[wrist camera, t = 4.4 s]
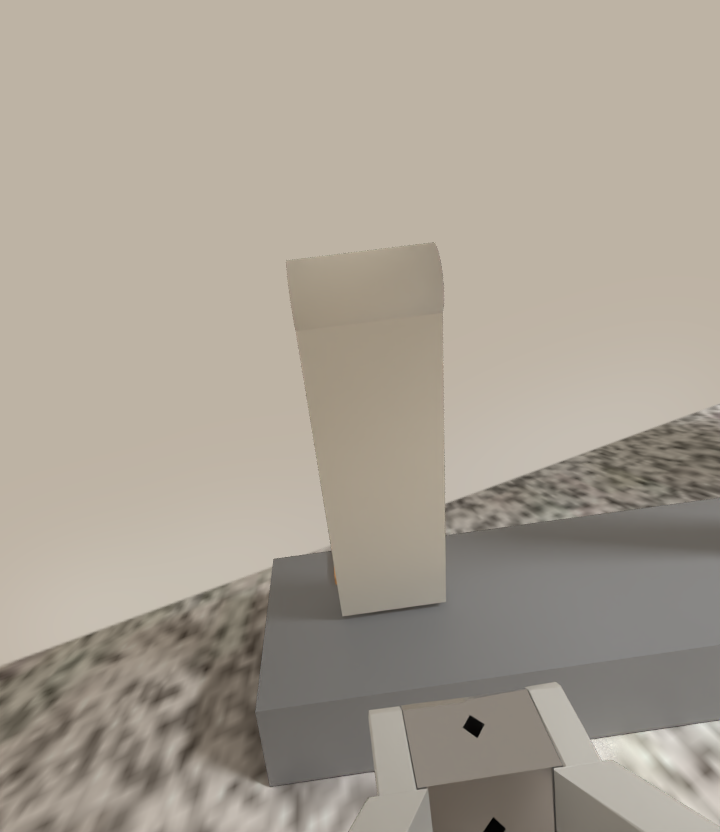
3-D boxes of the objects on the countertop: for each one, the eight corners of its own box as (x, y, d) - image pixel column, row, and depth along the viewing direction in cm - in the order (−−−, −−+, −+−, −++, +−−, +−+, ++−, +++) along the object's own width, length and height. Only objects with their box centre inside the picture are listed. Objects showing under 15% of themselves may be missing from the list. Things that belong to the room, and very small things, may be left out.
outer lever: (436, 565, 27) (428, 231, 18) (447, 606, 25) (444, 259, 17) (338, 579, 26) (285, 248, 18) (342, 620, 25) (286, 279, 17)
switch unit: (850, 535, 32) (857, 473, 31) (1077, 666, 23) (1097, 582, 22) (283, 614, 31) (272, 552, 30) (269, 786, 22) (253, 703, 21)
